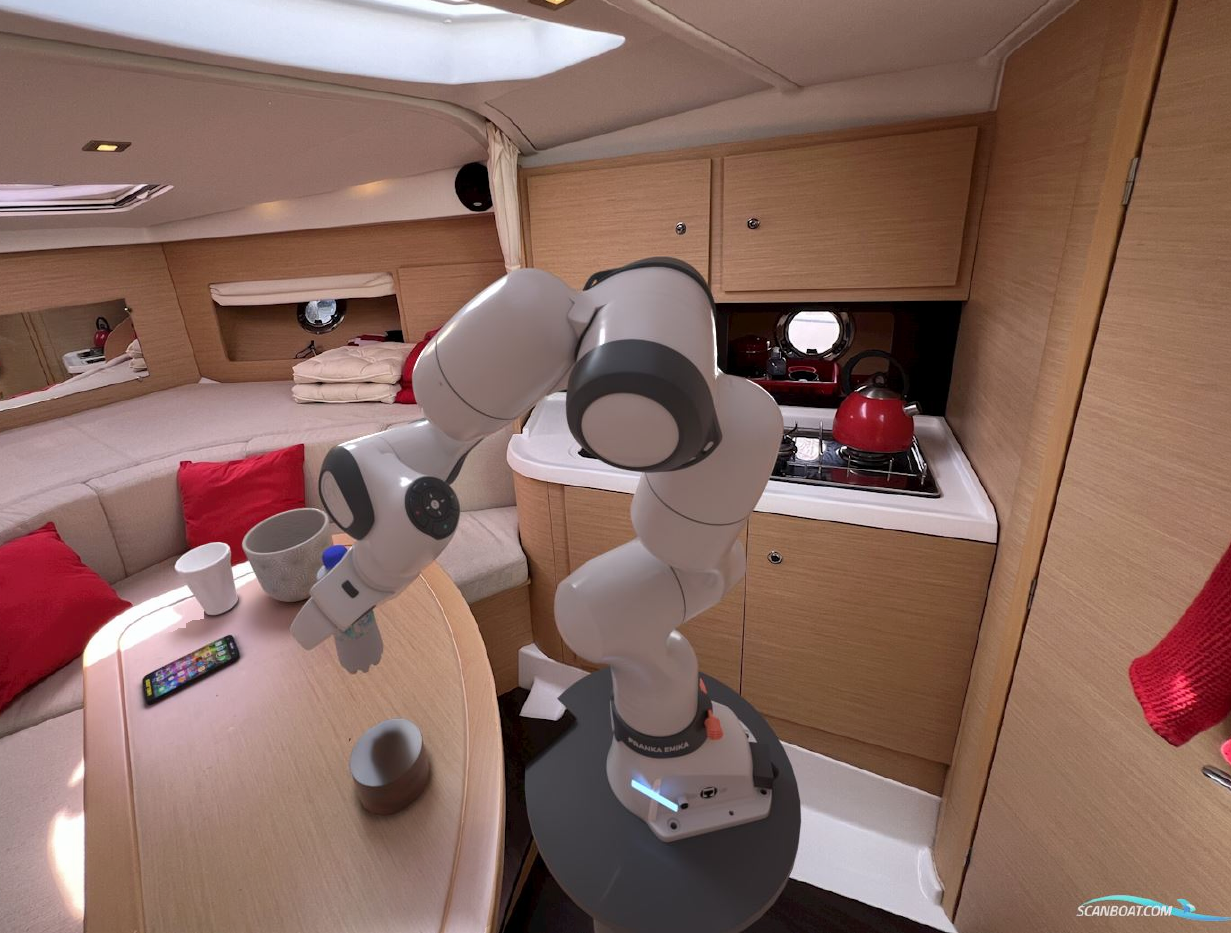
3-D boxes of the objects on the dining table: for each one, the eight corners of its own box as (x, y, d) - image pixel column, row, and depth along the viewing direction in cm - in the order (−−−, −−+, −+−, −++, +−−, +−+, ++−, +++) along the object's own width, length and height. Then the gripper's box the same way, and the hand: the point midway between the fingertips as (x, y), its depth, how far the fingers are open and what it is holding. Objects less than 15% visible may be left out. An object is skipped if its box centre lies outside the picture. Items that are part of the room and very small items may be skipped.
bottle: (338, 655, 82) (305, 544, 75) (383, 638, 85) (355, 529, 78) (343, 687, 76) (308, 570, 69) (391, 667, 79) (362, 553, 72)
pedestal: (436, 744, 83) (429, 716, 81) (419, 814, 74) (411, 785, 71) (373, 746, 83) (364, 718, 81) (348, 815, 74) (337, 787, 72)
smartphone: (240, 655, 102) (144, 704, 93) (241, 658, 102) (146, 708, 93) (231, 632, 107) (141, 676, 99) (233, 636, 108) (143, 680, 99)
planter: (359, 579, 121) (343, 522, 115) (285, 626, 109) (263, 565, 103) (321, 553, 131) (304, 499, 126) (249, 593, 120) (228, 536, 114)
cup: (257, 598, 118) (239, 549, 113) (210, 629, 110) (188, 578, 105) (232, 584, 123) (214, 537, 118) (186, 613, 115) (164, 563, 110)
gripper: (419, 504, 78) (384, 546, 86) (299, 596, 61) (269, 637, 69) (449, 536, 77) (410, 575, 85) (336, 637, 61) (301, 674, 69)
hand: (346, 604), depth 77 cm, fingers closed on bottle, 6 cm apart
